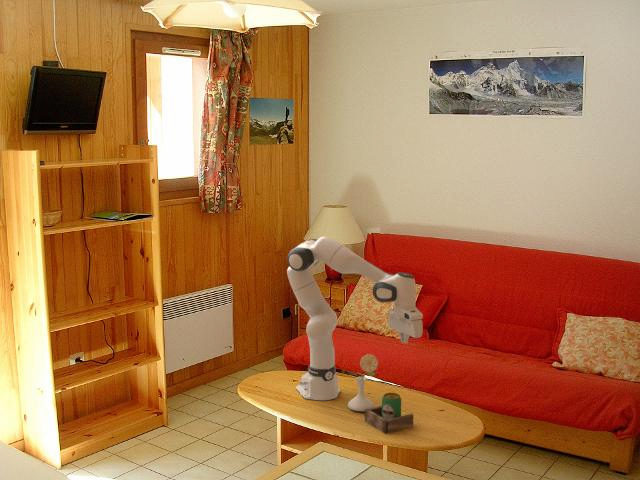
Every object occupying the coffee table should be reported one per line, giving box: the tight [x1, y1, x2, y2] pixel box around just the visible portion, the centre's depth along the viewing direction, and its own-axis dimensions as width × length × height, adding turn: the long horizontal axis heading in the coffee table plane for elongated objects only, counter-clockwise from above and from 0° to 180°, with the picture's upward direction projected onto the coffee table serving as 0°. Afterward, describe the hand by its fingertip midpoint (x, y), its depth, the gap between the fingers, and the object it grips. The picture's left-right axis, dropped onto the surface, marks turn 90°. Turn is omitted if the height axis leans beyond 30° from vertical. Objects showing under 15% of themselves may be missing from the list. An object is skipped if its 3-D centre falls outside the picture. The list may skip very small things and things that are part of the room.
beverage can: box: [381, 392, 402, 420], centre depth 315 cm, size 8×8×12 cm
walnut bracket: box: [364, 405, 414, 434], centre depth 315 cm, size 15×14×5 cm
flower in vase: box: [347, 353, 379, 412], centre depth 329 cm, size 13×11×25 cm
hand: (404, 342), depth 323 cm, fingers closed
